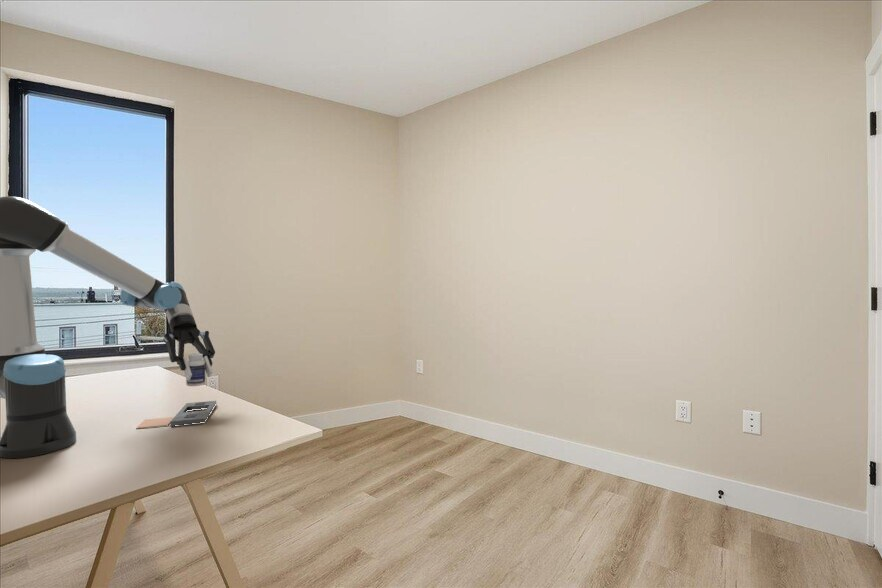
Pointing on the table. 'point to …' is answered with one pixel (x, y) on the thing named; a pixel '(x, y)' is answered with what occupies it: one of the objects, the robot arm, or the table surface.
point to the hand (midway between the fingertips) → (200, 375)
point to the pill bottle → (196, 370)
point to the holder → (193, 413)
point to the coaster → (155, 422)
